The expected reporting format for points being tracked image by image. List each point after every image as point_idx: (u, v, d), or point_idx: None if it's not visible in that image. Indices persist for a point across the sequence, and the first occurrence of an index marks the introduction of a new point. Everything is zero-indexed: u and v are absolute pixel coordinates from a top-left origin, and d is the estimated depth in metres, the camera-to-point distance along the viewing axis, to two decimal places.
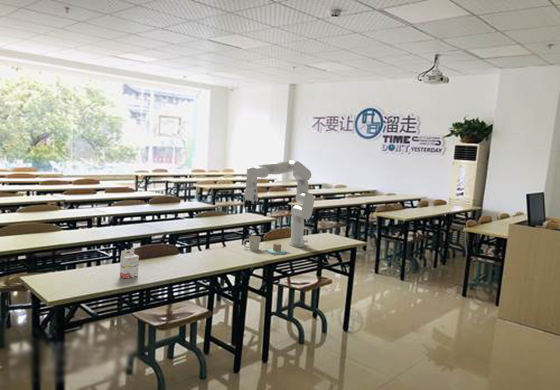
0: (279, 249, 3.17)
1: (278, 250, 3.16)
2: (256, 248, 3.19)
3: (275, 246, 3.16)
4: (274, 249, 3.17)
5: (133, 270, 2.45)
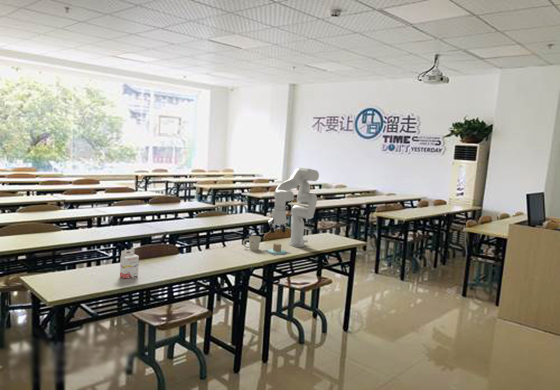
0: (279, 249, 3.17)
1: (278, 250, 3.16)
2: (256, 248, 3.19)
3: (275, 246, 3.16)
4: (274, 249, 3.17)
5: (133, 270, 2.45)
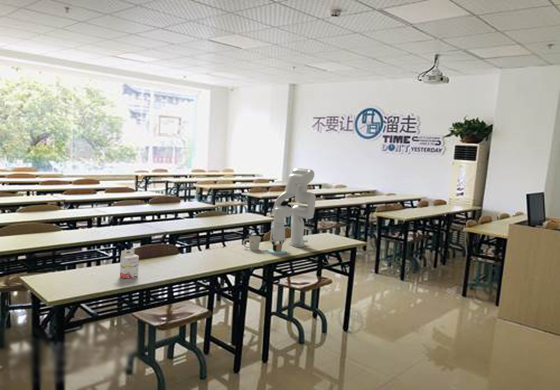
0: (279, 249, 3.17)
1: (278, 250, 3.16)
2: (256, 248, 3.19)
3: None
4: None
5: (133, 270, 2.45)
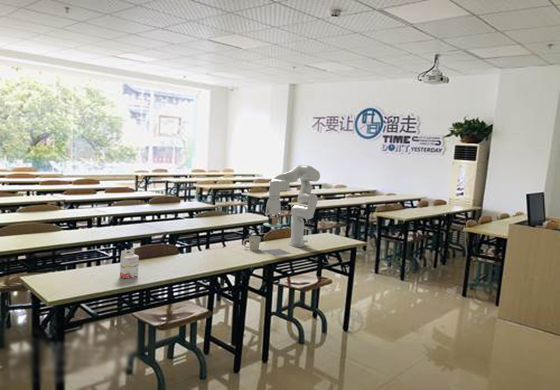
0: (275, 222, 3.15)
1: (274, 223, 3.15)
2: (256, 248, 3.19)
3: None
4: None
5: (133, 270, 2.45)
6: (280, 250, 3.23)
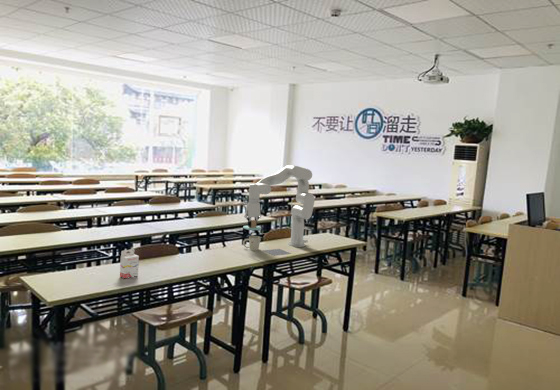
0: (254, 225, 3.19)
1: (253, 226, 3.18)
2: (256, 248, 3.19)
3: None
4: None
5: (133, 270, 2.45)
6: (280, 250, 3.23)
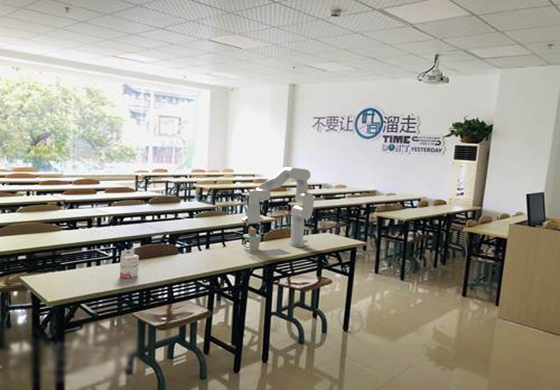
0: (254, 234, 3.20)
1: (253, 235, 3.19)
2: (256, 248, 3.19)
3: (250, 231, 3.19)
4: (249, 234, 3.20)
5: (133, 270, 2.45)
6: (280, 250, 3.23)
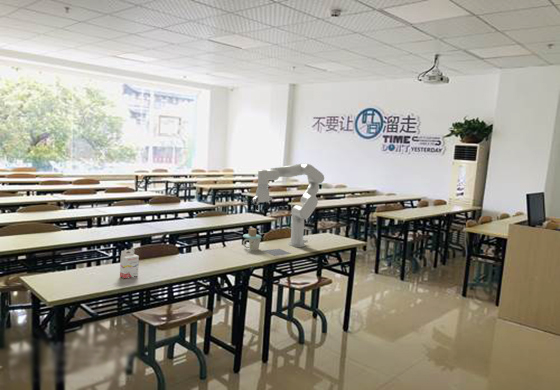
0: (254, 234, 3.19)
1: (253, 235, 3.19)
2: (256, 248, 3.19)
3: (250, 231, 3.19)
4: (249, 234, 3.20)
5: (133, 270, 2.45)
6: (280, 250, 3.23)
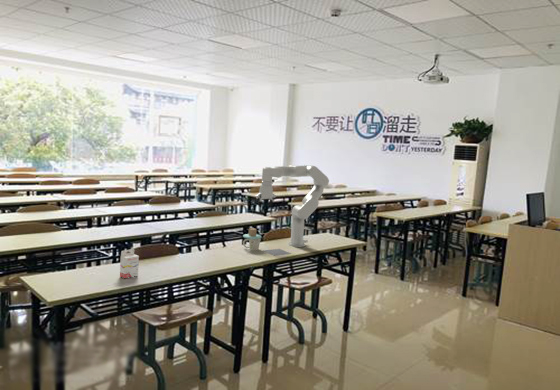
0: (254, 234, 3.19)
1: (253, 235, 3.19)
2: (256, 248, 3.19)
3: (250, 231, 3.19)
4: (249, 234, 3.20)
5: (133, 270, 2.45)
6: (280, 250, 3.23)
